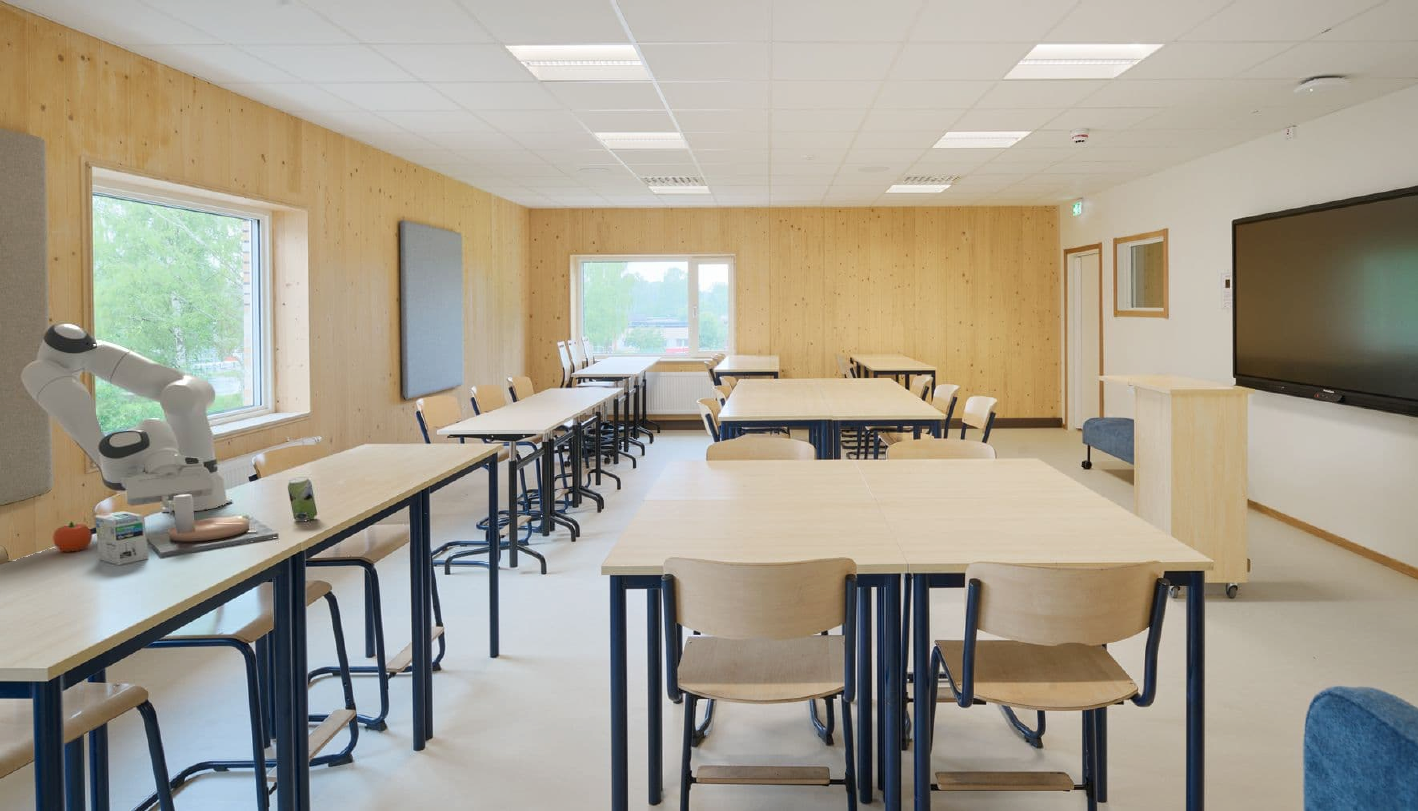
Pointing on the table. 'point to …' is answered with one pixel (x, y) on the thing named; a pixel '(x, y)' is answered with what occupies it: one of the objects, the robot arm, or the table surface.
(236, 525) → the crank handwheel
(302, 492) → the beverage can
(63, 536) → the pumpkin
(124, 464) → the robot arm
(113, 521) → the light bulb box
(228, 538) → the base
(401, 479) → the table surface
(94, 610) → the table surface
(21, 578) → the table surface
